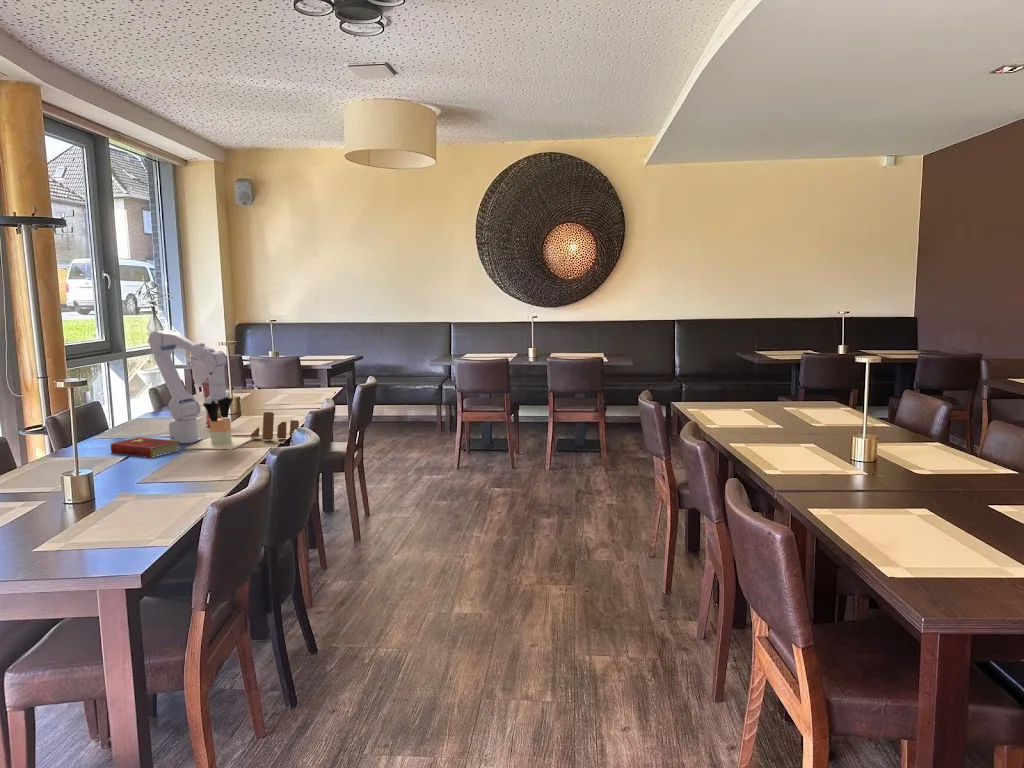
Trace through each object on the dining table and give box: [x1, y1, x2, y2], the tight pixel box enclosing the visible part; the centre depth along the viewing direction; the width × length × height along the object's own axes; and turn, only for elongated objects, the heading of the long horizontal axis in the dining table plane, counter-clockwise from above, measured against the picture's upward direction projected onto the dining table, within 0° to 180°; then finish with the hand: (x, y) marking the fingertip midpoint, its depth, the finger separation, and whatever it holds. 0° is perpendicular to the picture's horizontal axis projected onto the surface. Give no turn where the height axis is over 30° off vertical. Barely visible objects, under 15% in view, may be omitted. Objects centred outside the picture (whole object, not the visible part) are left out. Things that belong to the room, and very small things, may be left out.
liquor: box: [201, 371, 222, 427], centre depth 298 cm, size 7×7×28 cm
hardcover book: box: [110, 436, 179, 458], centre depth 253 cm, size 12×21×4 cm, turn 66°
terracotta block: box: [209, 417, 232, 432], centre depth 263 cm, size 6×4×4 cm, turn 83°
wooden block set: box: [249, 411, 300, 441], centre depth 271 cm, size 18×9×10 cm, turn 103°
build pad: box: [185, 436, 256, 451], centre depth 264 cm, size 18×18×1 cm
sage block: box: [209, 429, 232, 444], centre depth 263 cm, size 6×4×4 cm, turn 84°
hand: (219, 419), depth 262 cm, fingers open, 7 cm apart
